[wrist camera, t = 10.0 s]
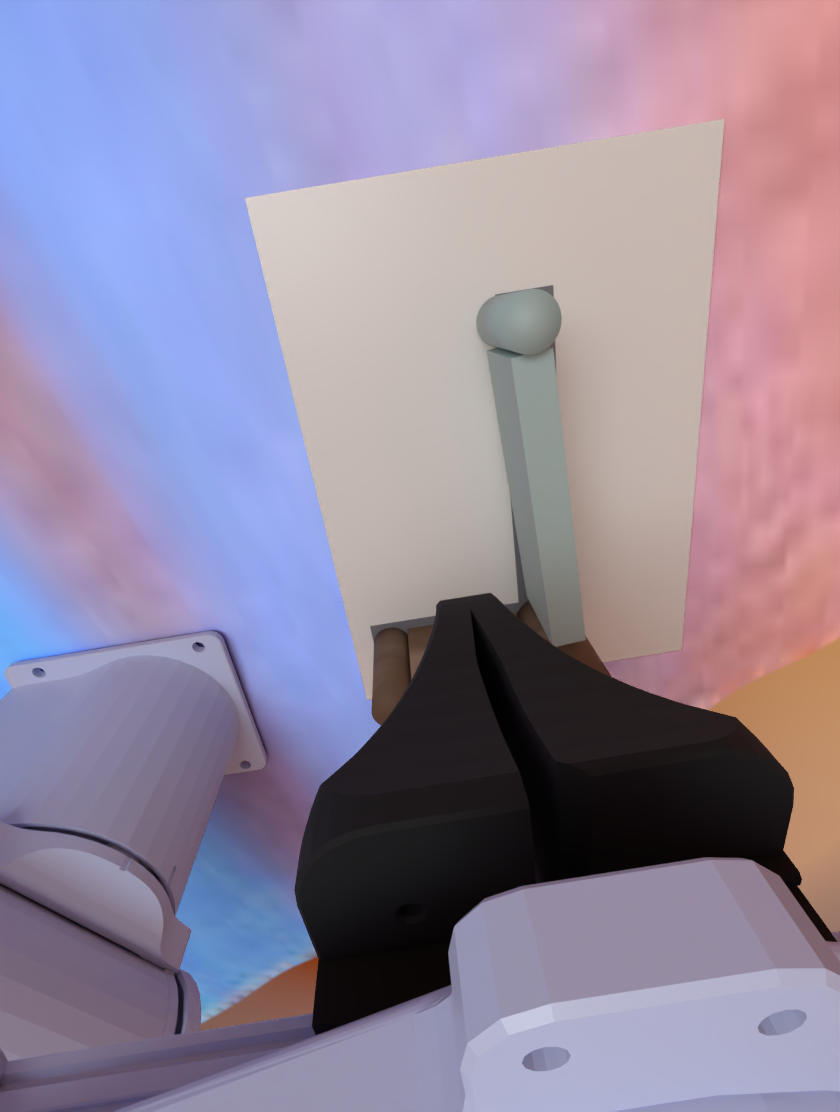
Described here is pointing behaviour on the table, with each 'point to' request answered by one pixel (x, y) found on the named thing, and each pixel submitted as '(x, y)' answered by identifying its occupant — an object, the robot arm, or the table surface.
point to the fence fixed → (405, 652)
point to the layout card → (465, 382)
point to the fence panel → (535, 453)
